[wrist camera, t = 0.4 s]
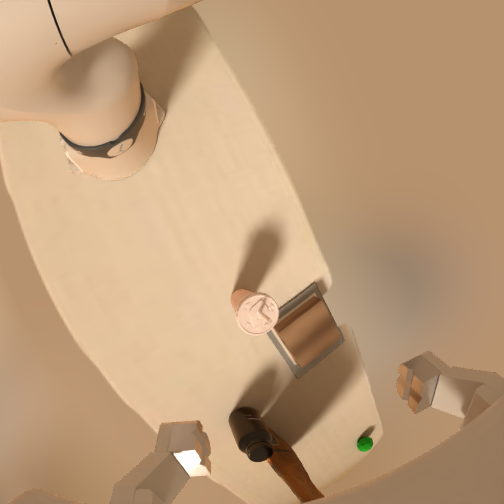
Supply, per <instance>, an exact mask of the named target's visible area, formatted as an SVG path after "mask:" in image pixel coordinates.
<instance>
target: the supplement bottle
mask: <svg viewBox="0 0 504 504" xmlns="http://www.w3.org/2000/svg"><path fill="white" fill-rule="evenodd" d="M229 425H230V428H231V430H232V433H233V436H234V438H235V441H236V443H237V446H238V448H239V449H240V450H241V451H242V452H244V453H246V454H247V456H248V458H249V459H250V460H251V461H253V462H262V461H265V460H267V459H269V458H270V457H271V456H272V455H273V453H274V452H273V451H274V450H273V447H272V445H271V443H272V435H271V433H270V432H269V430H268V428H267V426H266V425H265V423H264V421H263V419H262V418H261V416H260V414H259V413H258V411H256V410H255V409H253V408H241V409H238V410H236V411H235V412H233V413H232V414H231V416H230V418H229Z"/></svg>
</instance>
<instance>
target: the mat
mask: <svg viewBox="0 0 504 504" xmlns="http://www.w3.org/2000/svg"><path fill="white" fill-rule="evenodd" d="M313 296H315V297H318V298H320V299H322V300H323V302H324V304H325V306H326V308H327V310H328V312H329V314H330V316H331V318H332V320H333V322H334V324H335V326H336V328H337V330H338V332H339V334H340V336H341V338H340V339H338V340H337V341H336V342H335V343H334V344H333V345H331V346H330V347H329V348H328V349H326V350H325V351H324V352H323V353H322V354H320V355H319V356H318V357H317V358H315V359H314V360H313V361H312V362H310V363H309V364H308V365H306V366H305V367H304V368H303V369H302V368H301V367H300V366H299V365H298V364H297V363H296V362H295V360H294V359H293V357H292V356H291V354H290V353H289V351H288V350H287V348H286V347H285V345H284V344H283V342H282V341H281V339H280V338H279V336H278V335H277V333H276V332H275V330H274V328H272V329H271V330H270V331H269V332H267V334H268V336H269V337H270V339H271V340H272V342H273V343H274V345H275V346H276V348H277V349H278V351H279V352H280V354H281V355H282V356H283V358H284V359H285V361H286V362H287V364H288V365H289V367H290V368H291V369H292V371H293V372H294V374H295V375H296V377H297V378H299V377H300V376H302V375H303V374H304V373H306V372H307V371H308V370H309V369H311V368H312V367H313V366H314V365H316V364H317V363H318V362H319V361H321V360H322V359H323V358H324V357H326V356H327V355H328V354H329V353H330V352H332V351H333V350H334V349H335V348H336V347H338V346H339V345H340V344H341V343H342V342H343V341H344V339H343V337H342V335H341V333H340V331H339V329H338V327H337V325H336V323H335V320H334V319H333V317H332V315H331V313H330V311H329V309H328V307H327V305H326V303H325V301H324V299H323V297H322V295H321V293H320V291H319V289H318V287H317V285H316V283H313V284H312V285H311V286H310V287H308V288H307V289H306V290H304V291H303V292H302V293H300V294H299V295H298V296H296V297H295V298H294V299H292V300H291V301H290V302H288V303H287V304H286V305H284V306H283V307H282V308H280V309H279V316H278V320H277V322H276V324H278V323H279V322H280V321H282V320H283V319H285V318H286V317H287V316H289V315H290V314H291V313H293V312H294V311H295V310H296V309H298V308H299V307H300V306H302V305H303V304H304V303H306V302H307V301H308V300H309V299H311V298H312V297H313ZM276 324H275V325H276Z"/></svg>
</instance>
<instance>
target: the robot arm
mask: <svg viewBox="0 0 504 504" xmlns="http://www.w3.org/2000/svg"><path fill="white" fill-rule="evenodd" d="M200 1H202V0H0V122H7V121H41V122H46V123H48V124H50V125H51V126H53V127H54V128H56V129H57V131H58V132H59V133H60V135H61V137H62V138H60V142H61V144H62V146H64V148H65V153H66V158H67V162H68V167H69V170H70V171H71V172H72V173H74V174H89V175H92V176H94V177H96V178H99V179H103V180H118V179H122V178H125V177H128V176H130V175H132V174H133V173H135V172H136V171H138V170H139V169H140V168H141V167H142V166H143V165H144V164H145V163H146V162H147V161H148V160H149V158H150V156H151V155H152V153H153V151H154V148H155V145H156V141H157V133H158V129H159V127H160V125H161V124H162V122H163V120H164V118H165V112H164V110H163V109H162V107H161V106H160V105H159V104H158V103H157V102H156V101H155V100H154V99H153V98H152V97H151V96H150V95H149V94H148V93H147V92H146V91H145V90H144V88H143V86H142V84H141V82H140V80H139V72H138V63H137V59H136V57H135V55H134V53H133V51H132V50H131V49H130V48H129V47H128V46H127V45H126V44H124V43H123V42H121V41H120V40H118V39H116V38H113V36H115V35H118V34H120V33H122V32H125V31H127V30H130V29H133V28H135V27H138V26H141V25H144V24H146V23H149V22H152V21H155V20H159V19H161V18H163V17H165V16H167V15H169V14H172V13H174V12H176V11H179V10H181V9H183V8H186V7H188V6H190V5H193V4H195V3H198V2H200ZM398 373H399V374H400V376H399V377H398V379H397V383H396V387H397V392H398V394H399V396H400V397H401V398H402V399H404V400H408V406H409V407H410V409H411V410H412V411H413V412H414V413H415V414H416V413H419V412H420V411H422V410H424V409H426V408H428V407H429V406H432V407H433V408H436V409H439V410H442V411H444V412H447V413H450V414H453V415H456V416H459V417H462V418H464V420H463V422H462V424H461V427H460V430H459V431H458V432H457V433H455V434H454V435H452V436H451V437H449V438H448V439H446V440H445V441H443V442H442V443H440V444H439V445H437V446H436V447H434V448H432V449H431V450H429V451H428V452H426V453H424V454H422V455H421V456H419V457H417V458H415V459H414V460H412V461H410V462H408V463H406V464H404V465H402V466H401V467H398V468H396V469H394V470H392V471H390V472H388V473H386V474H384V475H382V476H380V477H377V478H375V479H373V480H370V481H368V482H366V483H363V484H361V485H358V486H355V487H353V488H350V489H347V490H345V491H342V492H339V493H336V494H333V495H330V496H326V497H323V498H320V499H316V500H313V501H309V502H305V503H301V504H504V378H502V377H501V376H500V375H498V374H497V373H495V372H487V371H480V370H472V369H466V368H460V367H451V368H450V367H449V366H448V365H447V364H445V363H444V362H443V361H441V360H440V359H439V358H438V357H437V356H435V355H434V354H433V353H432V352H430V351H427V352H425V353H423V354H421V355H419V356H417V357H415V358H413V359H411V360H409V361H407V362H405V363H402V364H401V365H400V366H399V368H398ZM202 427H203V426H202V424H201V423H200V421H198V420H197V421H184V422H170V423H162V424H161V425H160V428H159V432H158V437H157V443H156V447H155V452H154V453H150V454H149V455H148V456H147V457H146V458H145V459H143V460H142V461H141V462H140V463H139V464H138V465H137V466H136V467H135V468H134V469H133V470H131V471H130V472H129V473H128V474H127V475H126V476H124V477H123V478H122V479H121V480H120V481H119V482H118V483H116V484H115V486H114V489H113V493H112V497H111V501H110V504H171V503H172V502H173V500H174V499H175V497H176V496H177V495H178V493H179V492H180V491H181V489H182V488H183V487H184V485H185V484H186V483H187V481H188V480H189V478H190V477H191V476H204V475H211V462H210V460H209V458H208V456H209V455H210V454H211V448H210V442H209V439H208V436H207V434H206V433H205V432H203V431H202ZM7 504H85V503H81V502H78V501H74V500H71V499H68V498H65V497H61V496H58V495H55V494H53V493H50V492H47V491H45V490H42V489H38V488H34V489H31V490H28V491H26V492H24V493H22V494H21V495H19V496H17V497H15V498H13V499H12V500H10V501H9V502H8V503H7Z"/></svg>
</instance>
